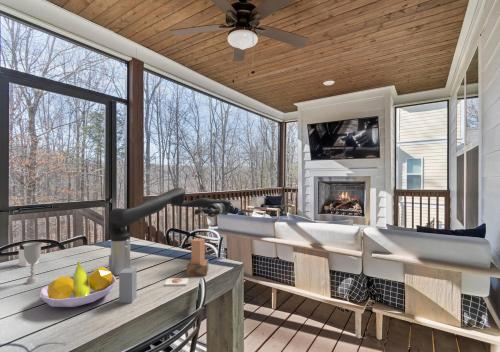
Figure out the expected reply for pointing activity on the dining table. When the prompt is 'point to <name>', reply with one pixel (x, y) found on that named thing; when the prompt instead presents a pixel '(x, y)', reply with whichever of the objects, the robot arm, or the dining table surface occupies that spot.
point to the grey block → (127, 285)
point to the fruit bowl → (78, 288)
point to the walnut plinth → (197, 268)
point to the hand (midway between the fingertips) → (202, 213)
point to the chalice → (32, 258)
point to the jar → (21, 256)
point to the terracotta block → (197, 251)
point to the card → (176, 282)
